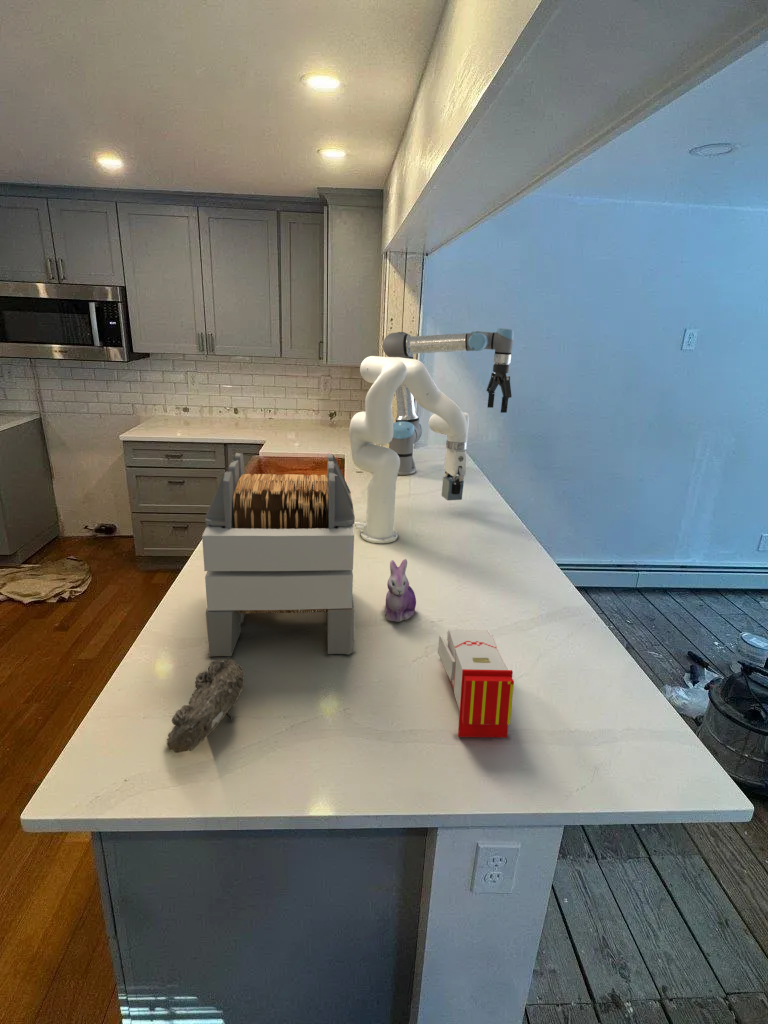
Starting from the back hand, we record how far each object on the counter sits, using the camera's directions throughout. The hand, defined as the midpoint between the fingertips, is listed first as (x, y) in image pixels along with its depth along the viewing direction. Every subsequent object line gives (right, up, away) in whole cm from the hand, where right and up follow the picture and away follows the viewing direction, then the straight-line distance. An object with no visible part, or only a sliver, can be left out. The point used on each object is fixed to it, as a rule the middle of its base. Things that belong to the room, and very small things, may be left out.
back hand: (496, 410), depth 267 cm
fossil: (-86, -87, -159) cm, 201 cm away
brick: (-27, -43, -49) cm, 70 cm away
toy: (-35, -86, -149) cm, 175 cm away
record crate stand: (-78, -75, -125) cm, 165 cm away
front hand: (-27, -40, -50) cm, 69 cm away
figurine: (-49, -75, -120) cm, 150 cm away
